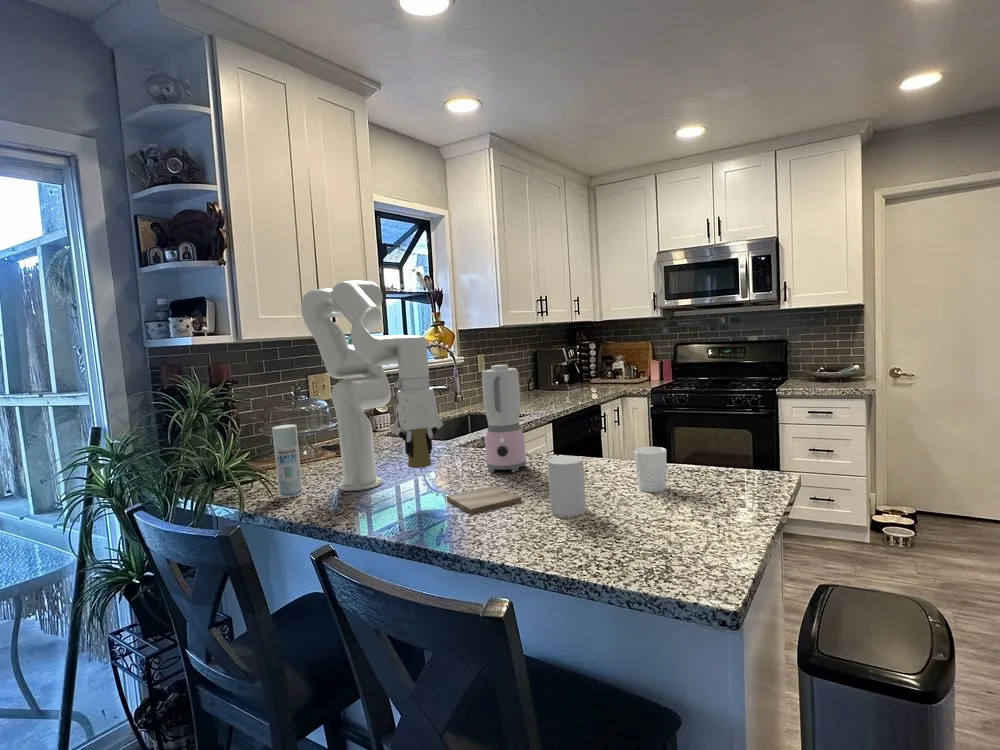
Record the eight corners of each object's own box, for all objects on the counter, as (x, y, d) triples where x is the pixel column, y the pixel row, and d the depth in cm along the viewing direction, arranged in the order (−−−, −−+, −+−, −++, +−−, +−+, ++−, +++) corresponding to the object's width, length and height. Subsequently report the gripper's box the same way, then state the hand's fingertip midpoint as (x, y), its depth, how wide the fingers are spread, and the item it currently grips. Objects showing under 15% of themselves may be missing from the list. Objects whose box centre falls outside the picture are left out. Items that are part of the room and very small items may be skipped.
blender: (491, 464, 185) (483, 365, 182) (528, 462, 183) (521, 362, 180) (481, 477, 169) (473, 369, 167) (522, 476, 167) (514, 366, 165)
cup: (588, 505, 136) (585, 455, 135) (582, 517, 128) (579, 464, 127) (555, 504, 139) (552, 455, 138) (547, 515, 131) (543, 464, 130)
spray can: (302, 490, 169) (295, 423, 167) (304, 496, 163) (297, 426, 161) (278, 494, 166) (271, 426, 164) (279, 500, 160) (272, 429, 158)
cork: (433, 461, 151) (431, 420, 150) (428, 467, 145) (425, 424, 144) (411, 462, 152) (408, 421, 150) (405, 468, 146) (402, 425, 145)
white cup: (633, 492, 144) (631, 453, 143) (638, 483, 151) (636, 446, 150) (666, 493, 141) (664, 453, 140) (669, 484, 148) (667, 446, 147)
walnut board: (447, 500, 148) (446, 496, 148) (494, 489, 155) (494, 485, 155) (470, 514, 136) (470, 509, 136) (521, 501, 143) (521, 497, 143)
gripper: (387, 389, 139) (392, 463, 141) (450, 382, 147) (454, 452, 149) (378, 386, 146) (383, 457, 147) (439, 380, 153) (443, 447, 155)
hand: (419, 454), depth 148 cm, fingers closed on cork, 4 cm apart
